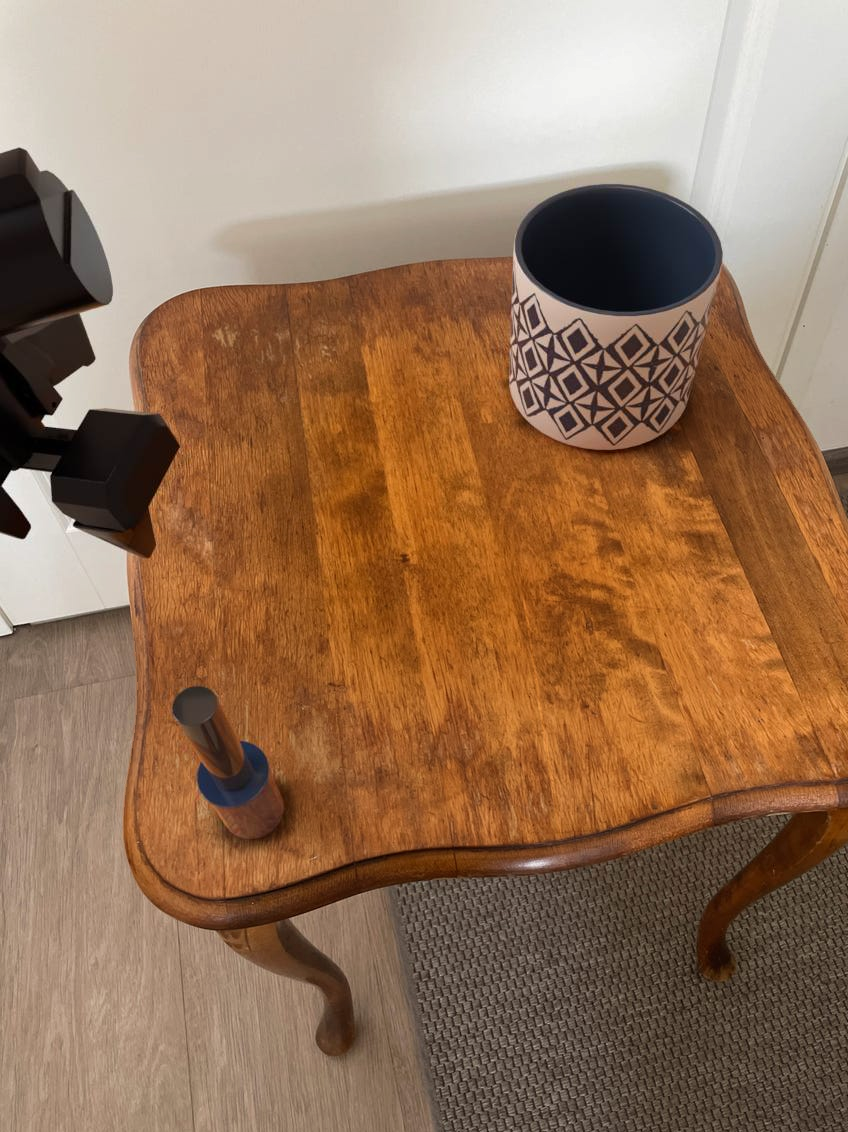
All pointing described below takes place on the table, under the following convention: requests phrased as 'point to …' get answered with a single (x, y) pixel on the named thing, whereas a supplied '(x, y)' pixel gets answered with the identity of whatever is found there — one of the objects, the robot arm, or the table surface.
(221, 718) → the rod with blue collar
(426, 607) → the table surface
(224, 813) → the tin
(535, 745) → the table surface
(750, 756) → the table surface
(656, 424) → the planter
